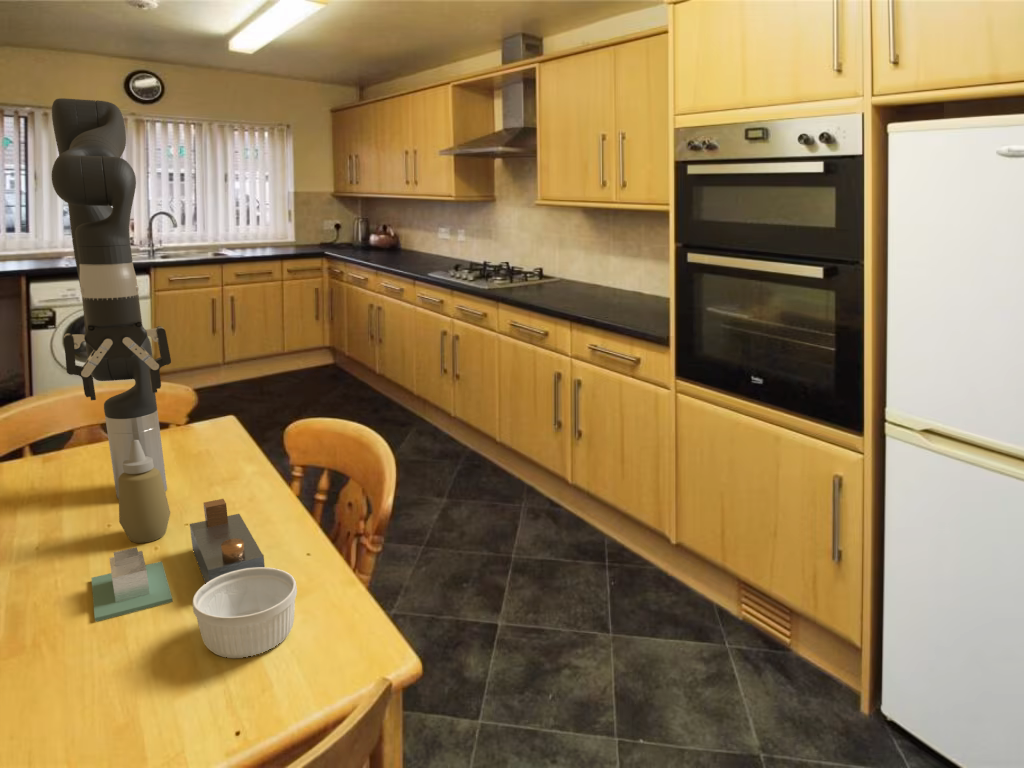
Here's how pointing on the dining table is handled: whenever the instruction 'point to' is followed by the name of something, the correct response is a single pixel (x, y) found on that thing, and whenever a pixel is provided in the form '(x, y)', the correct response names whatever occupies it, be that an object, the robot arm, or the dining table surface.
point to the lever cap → (129, 574)
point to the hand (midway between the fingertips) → (124, 395)
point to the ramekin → (246, 611)
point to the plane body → (223, 542)
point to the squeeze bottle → (142, 498)
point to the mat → (110, 608)
